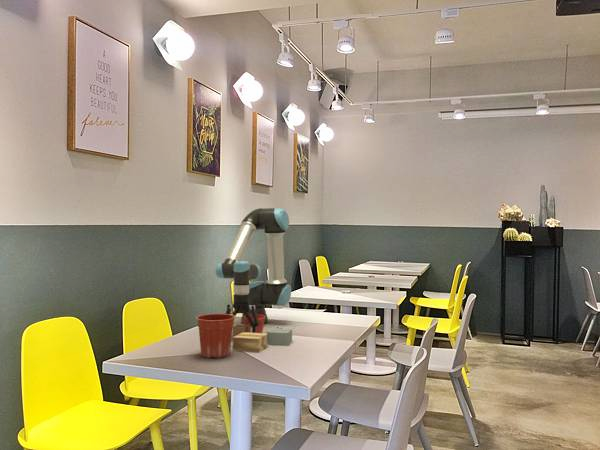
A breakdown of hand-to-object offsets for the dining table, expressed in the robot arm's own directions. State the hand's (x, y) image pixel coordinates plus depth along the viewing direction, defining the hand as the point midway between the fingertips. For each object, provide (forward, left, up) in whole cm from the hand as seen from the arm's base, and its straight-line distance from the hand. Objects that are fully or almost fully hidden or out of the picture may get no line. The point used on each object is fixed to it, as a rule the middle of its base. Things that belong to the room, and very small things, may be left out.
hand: (240, 340), depth 241 cm
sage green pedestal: (-1, +19, 0) cm, 19 cm away
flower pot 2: (-12, +2, 0) cm, 12 cm away
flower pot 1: (+28, 0, 0) cm, 28 cm away
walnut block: (0, 0, 0) cm, 0 cm away
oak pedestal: (+13, +10, 0) cm, 16 cm away
